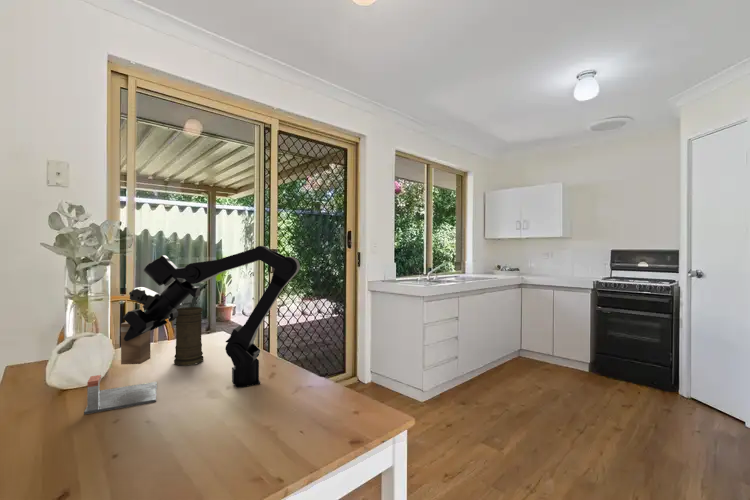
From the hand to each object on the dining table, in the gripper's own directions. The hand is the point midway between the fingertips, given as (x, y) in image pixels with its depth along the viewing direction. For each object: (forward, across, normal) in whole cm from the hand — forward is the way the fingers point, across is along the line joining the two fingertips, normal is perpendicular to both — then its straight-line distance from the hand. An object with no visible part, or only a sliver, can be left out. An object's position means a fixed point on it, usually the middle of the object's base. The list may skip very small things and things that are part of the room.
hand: (130, 337), depth 100 cm
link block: (+4, 0, +6) cm, 7 cm away
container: (+5, -21, +14) cm, 26 cm away
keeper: (+8, +8, +12) cm, 16 cm away
